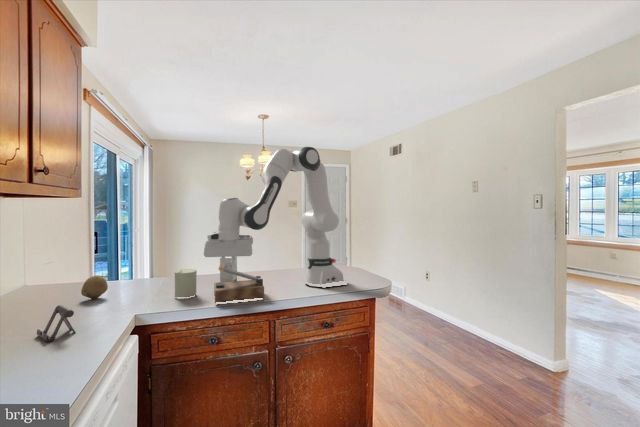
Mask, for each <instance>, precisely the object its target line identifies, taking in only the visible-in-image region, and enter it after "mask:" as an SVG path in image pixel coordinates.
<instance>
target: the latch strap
mask: <svg viewBox="0 0 640 427" xmlns="http://www.w3.org/2000/svg"><path fill="white" fill-rule="evenodd" d="M218 271H219V272H220V271H223V272H227V273H230V274H234V275H237V277H241V278H244V279H247V280H254V281H258V279H262V278H260V277H256V276H254V275H251V274H247V273H243V272H240V271H238V270H237V271H234V270H230V269H227V268H225V267H224V266H222V265H220V264H219V267H218Z"/></svg>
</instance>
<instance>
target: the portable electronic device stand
mask: <svg viewBox="0 0 640 427" xmlns="http://www.w3.org/2000/svg"><path fill="white" fill-rule="evenodd" d="M57 314H59V316H60V319H59V320H58V322H57V324H56V327H55V329H54V331H53V333H52V335H49V334H48V332H49V331H50V330H49V329H50V328H51V326H52V324H53V321H54V320H55V317H56V315H57ZM74 314H75V312H74V310H72V309H70V308H68V307H67V306H64V305H63V304H59V305H57V306H56V307H55V308H54V311H53V313H52V315H51V317H50V318H49V320H48V322H47V324H46V326H45V327H44V328H45V329H43V331H42V330H40V329H39V328H38V329H36V335H37V336H38V337H39V338H41V339H42V341H45V342H46V343H48V344H50V343H53V342H54V340H55V339H56V337H57V334H58V332H59V330H60V328H61V326H62V324H63V322H64V324H65V326H66V327H67V329H68V330H69V331H70V332H72V333H73V334H76V331H75V329H74V328H73V326H72V325H71V322H70V321H69V319H68V318H71V317H73V316H74Z"/></svg>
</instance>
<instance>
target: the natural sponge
mask: <svg viewBox="0 0 640 427" xmlns="http://www.w3.org/2000/svg"><path fill="white" fill-rule="evenodd" d="M108 287H109V286H108V282H107V280H106V278H104V277H103V276H101V275H93V276H92V275H91V276H90V277H89V278H87V279H86V280H85V281H84V283H83V285H82V287H81V290H80V293H81V296H83V297H85V298H88V299H92V300H96V299H98V298H100V297H101V296H102V295H104V294H105V293H106V292H107V290H108Z"/></svg>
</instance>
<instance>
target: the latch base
mask: <svg viewBox="0 0 640 427" xmlns="http://www.w3.org/2000/svg"><path fill="white" fill-rule="evenodd" d="M255 277H260V278H261V275H256V276H255ZM263 282H264V280H263V278H261V279H258V281H254V280H251V279H247V280H237V281H232V282H220V281H219V282H214V284H213V286H214V287H213V288H214V289H213V295H214V296H215V298H214V304H215V303H216V302H226V301H233V300H244V299H254V298H264V299H265V286H264V283H263Z"/></svg>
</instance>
